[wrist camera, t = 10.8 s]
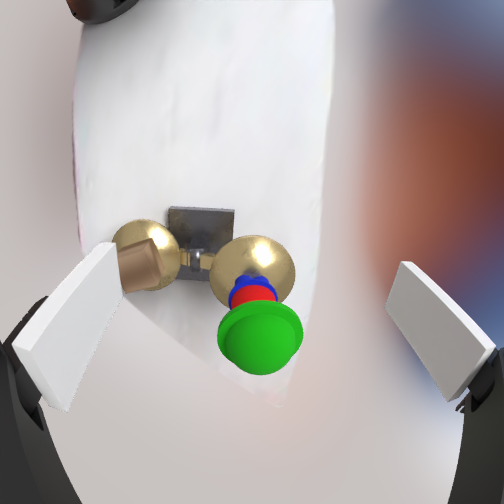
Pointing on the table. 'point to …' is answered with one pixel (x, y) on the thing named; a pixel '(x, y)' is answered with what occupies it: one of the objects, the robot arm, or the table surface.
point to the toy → (258, 328)
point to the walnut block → (140, 265)
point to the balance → (211, 251)
